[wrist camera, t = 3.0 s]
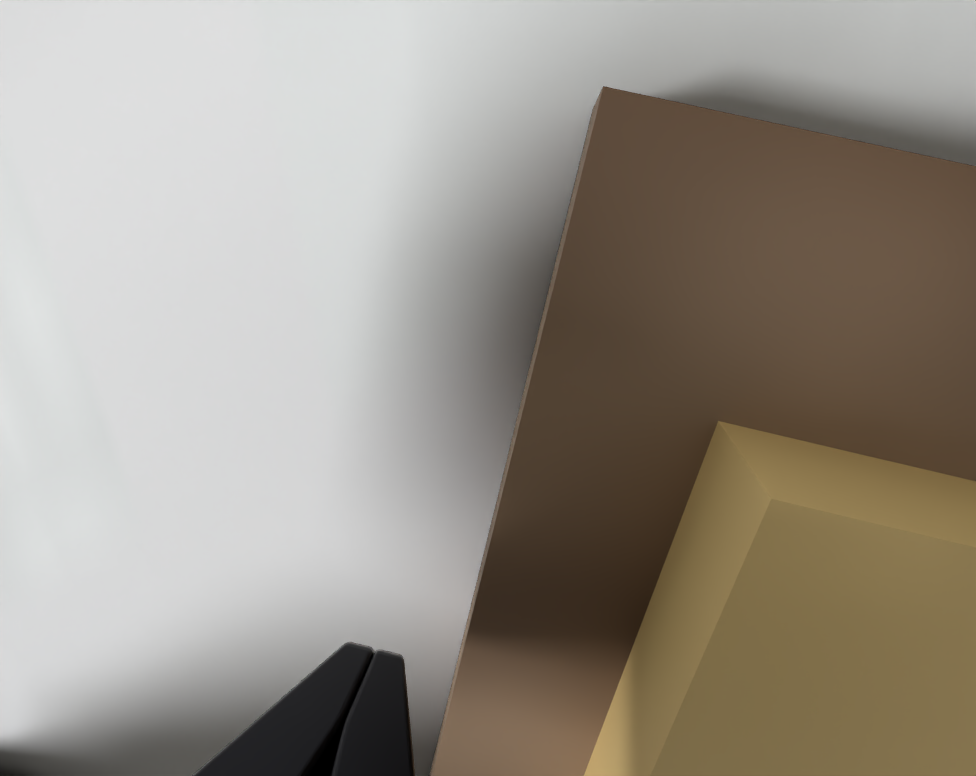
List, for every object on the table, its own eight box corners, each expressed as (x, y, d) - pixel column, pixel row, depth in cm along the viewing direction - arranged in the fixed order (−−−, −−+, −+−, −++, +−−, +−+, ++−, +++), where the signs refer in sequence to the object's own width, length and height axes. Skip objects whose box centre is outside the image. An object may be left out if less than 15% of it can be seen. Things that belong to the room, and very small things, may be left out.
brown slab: (917, 969, 13) (976, 1096, 12) (415, 834, 14) (392, 937, 12) (1457, 296, 8) (1739, 330, 6) (592, 108, 8) (603, 86, 6)
